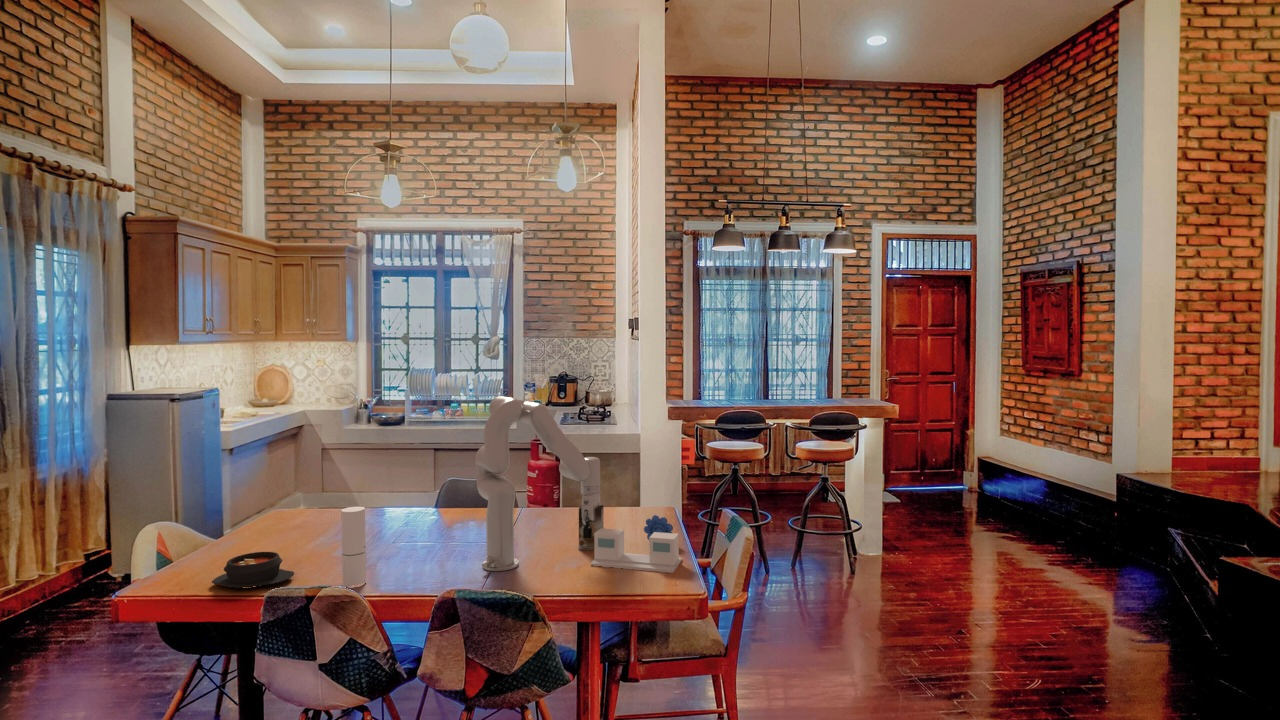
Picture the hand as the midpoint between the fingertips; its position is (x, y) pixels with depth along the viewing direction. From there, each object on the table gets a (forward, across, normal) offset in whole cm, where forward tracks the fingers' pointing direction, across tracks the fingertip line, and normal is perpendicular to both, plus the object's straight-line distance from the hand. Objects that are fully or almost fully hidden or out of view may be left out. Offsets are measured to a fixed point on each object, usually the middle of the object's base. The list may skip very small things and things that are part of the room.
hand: (591, 534), depth 258 cm
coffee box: (+5, 0, 0) cm, 5 cm away
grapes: (+5, +8, -25) cm, 27 cm away
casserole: (+5, -64, +96) cm, 115 cm away
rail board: (+5, -13, -22) cm, 26 cm away
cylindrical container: (+5, -57, +62) cm, 84 cm away
